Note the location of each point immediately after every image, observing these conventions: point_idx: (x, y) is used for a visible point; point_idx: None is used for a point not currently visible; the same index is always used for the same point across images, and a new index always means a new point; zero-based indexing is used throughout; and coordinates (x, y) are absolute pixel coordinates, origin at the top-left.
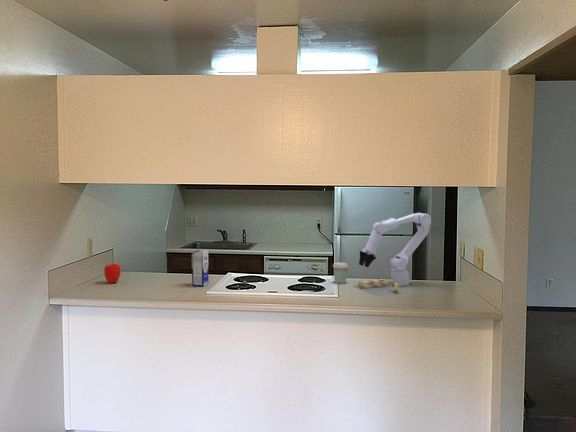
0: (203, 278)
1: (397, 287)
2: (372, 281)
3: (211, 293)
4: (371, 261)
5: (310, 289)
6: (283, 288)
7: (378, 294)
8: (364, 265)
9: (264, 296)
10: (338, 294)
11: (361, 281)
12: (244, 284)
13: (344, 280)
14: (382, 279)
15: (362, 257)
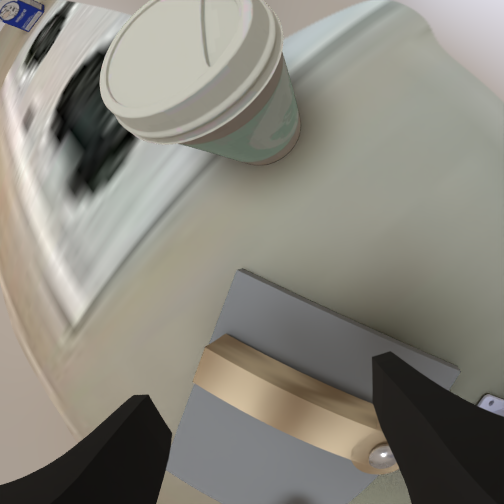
0: (16, 26)
1: None
2: (291, 429)
3: (3, 86)
4: (414, 500)
5: (79, 147)
6: (57, 89)
7: (191, 470)
8: (374, 361)
9: (4, 159)
10: (92, 304)
11: (224, 365)
12: (60, 18)
13: (246, 160)
14: (378, 466)
15: (90, 501)
